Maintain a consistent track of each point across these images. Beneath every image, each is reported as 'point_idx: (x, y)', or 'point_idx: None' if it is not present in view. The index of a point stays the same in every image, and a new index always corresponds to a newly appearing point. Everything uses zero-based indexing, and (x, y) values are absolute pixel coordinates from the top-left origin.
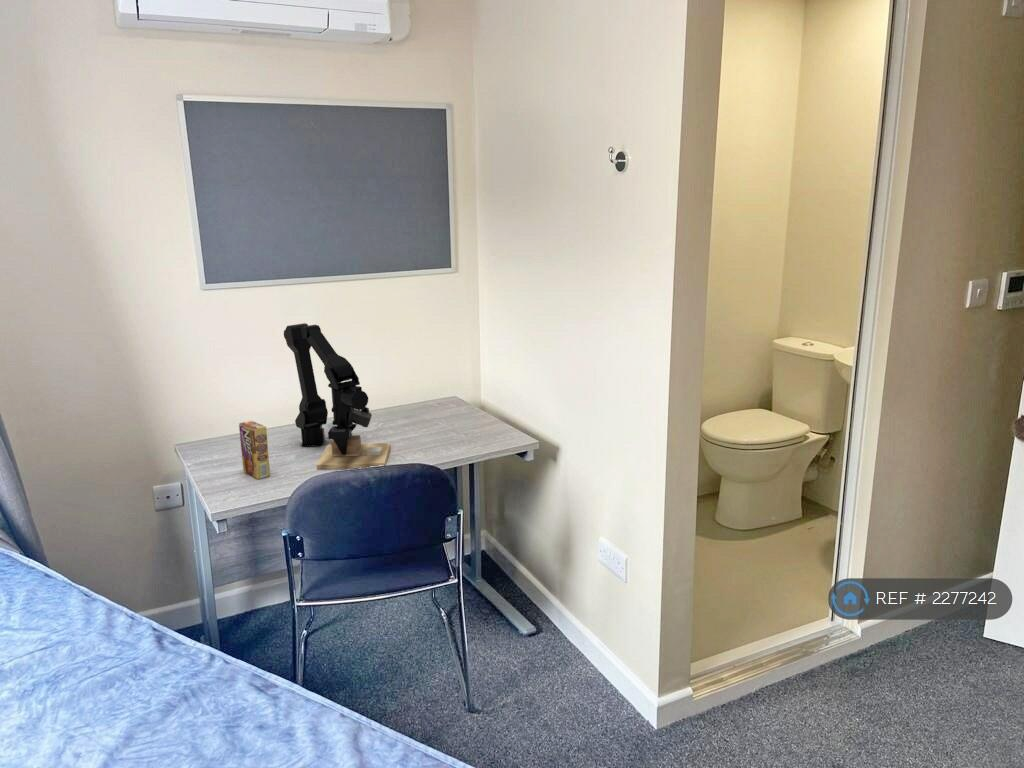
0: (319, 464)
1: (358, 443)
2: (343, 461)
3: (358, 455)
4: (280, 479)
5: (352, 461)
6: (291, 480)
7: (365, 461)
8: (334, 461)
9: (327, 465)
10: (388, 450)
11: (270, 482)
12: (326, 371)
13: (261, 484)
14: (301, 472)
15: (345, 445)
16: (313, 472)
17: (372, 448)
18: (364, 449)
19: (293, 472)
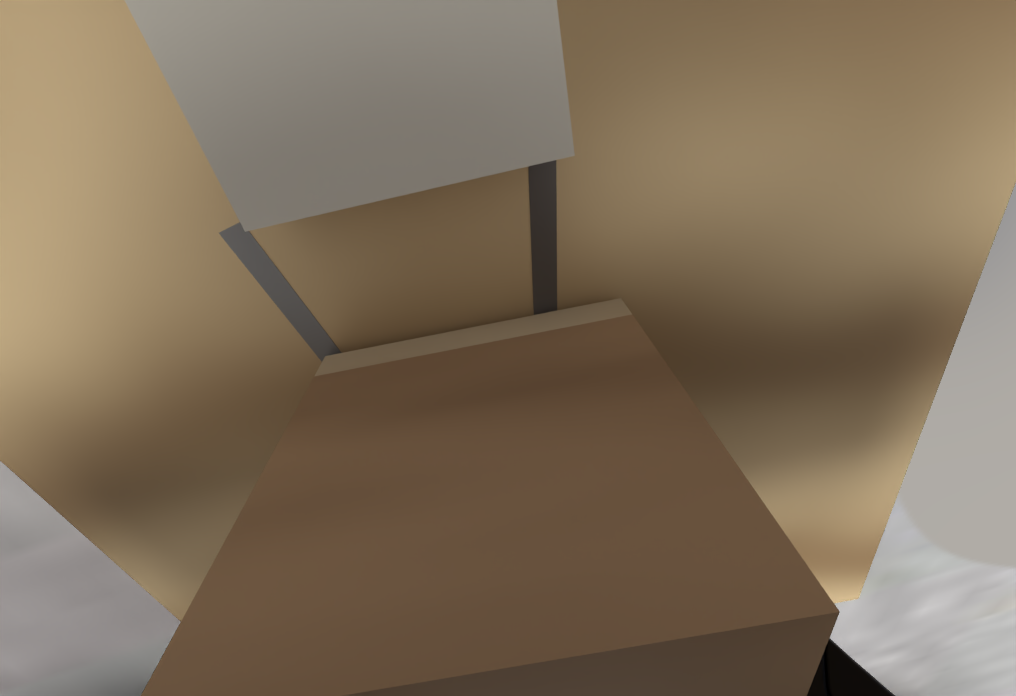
0: (849, 586)
1: (620, 482)
2: (819, 423)
3: (620, 304)
4: (948, 648)
5: (857, 306)
6: (1003, 601)
7: (942, 37)
8: (790, 509)
9: (875, 523)
10: None
11: (979, 665)
12: None
13: (992, 682)
14: (851, 609)
15: (828, 653)
16: (881, 550)
17: (278, 83)
18: (234, 325)
19: (834, 642)
